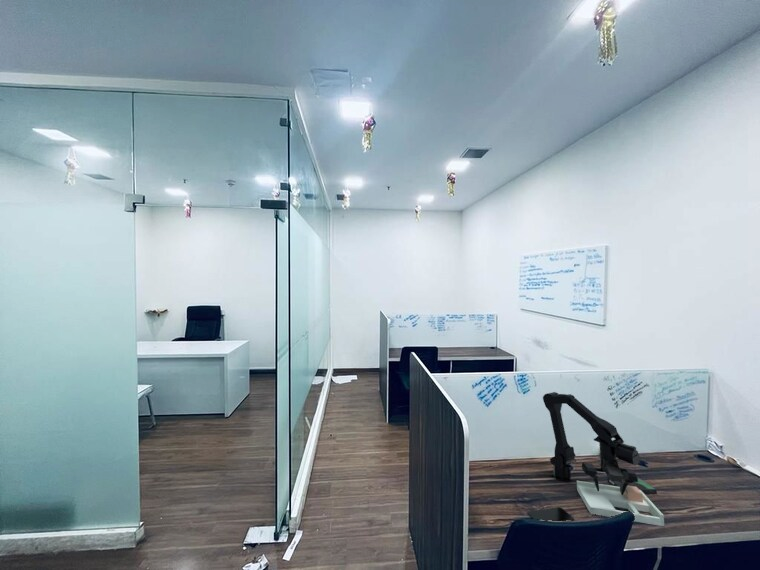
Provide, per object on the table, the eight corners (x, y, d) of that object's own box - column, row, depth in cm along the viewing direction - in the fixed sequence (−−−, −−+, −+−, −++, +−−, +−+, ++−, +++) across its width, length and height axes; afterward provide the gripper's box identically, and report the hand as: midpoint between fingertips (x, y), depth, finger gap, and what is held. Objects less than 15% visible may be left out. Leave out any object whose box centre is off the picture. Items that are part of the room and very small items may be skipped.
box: (590, 513, 122) (590, 503, 123) (577, 489, 139) (576, 480, 139) (664, 526, 115) (663, 515, 116) (641, 499, 131) (640, 489, 132)
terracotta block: (628, 500, 127) (627, 491, 127) (622, 493, 132) (622, 484, 132) (643, 502, 126) (642, 493, 126) (636, 495, 130) (636, 486, 131)
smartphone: (560, 508, 126) (525, 513, 123) (560, 506, 126) (525, 511, 123) (576, 521, 118) (539, 527, 115) (576, 519, 118) (539, 524, 115)
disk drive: (624, 496, 135) (657, 495, 135) (624, 489, 135) (657, 488, 135) (606, 483, 145) (637, 482, 145) (606, 476, 145) (637, 476, 146)
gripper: (589, 460, 127) (591, 499, 126) (643, 467, 122) (646, 508, 120) (580, 448, 138) (582, 484, 136) (630, 454, 132) (632, 492, 131)
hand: (609, 492), depth 131 cm, fingers open, 8 cm apart
